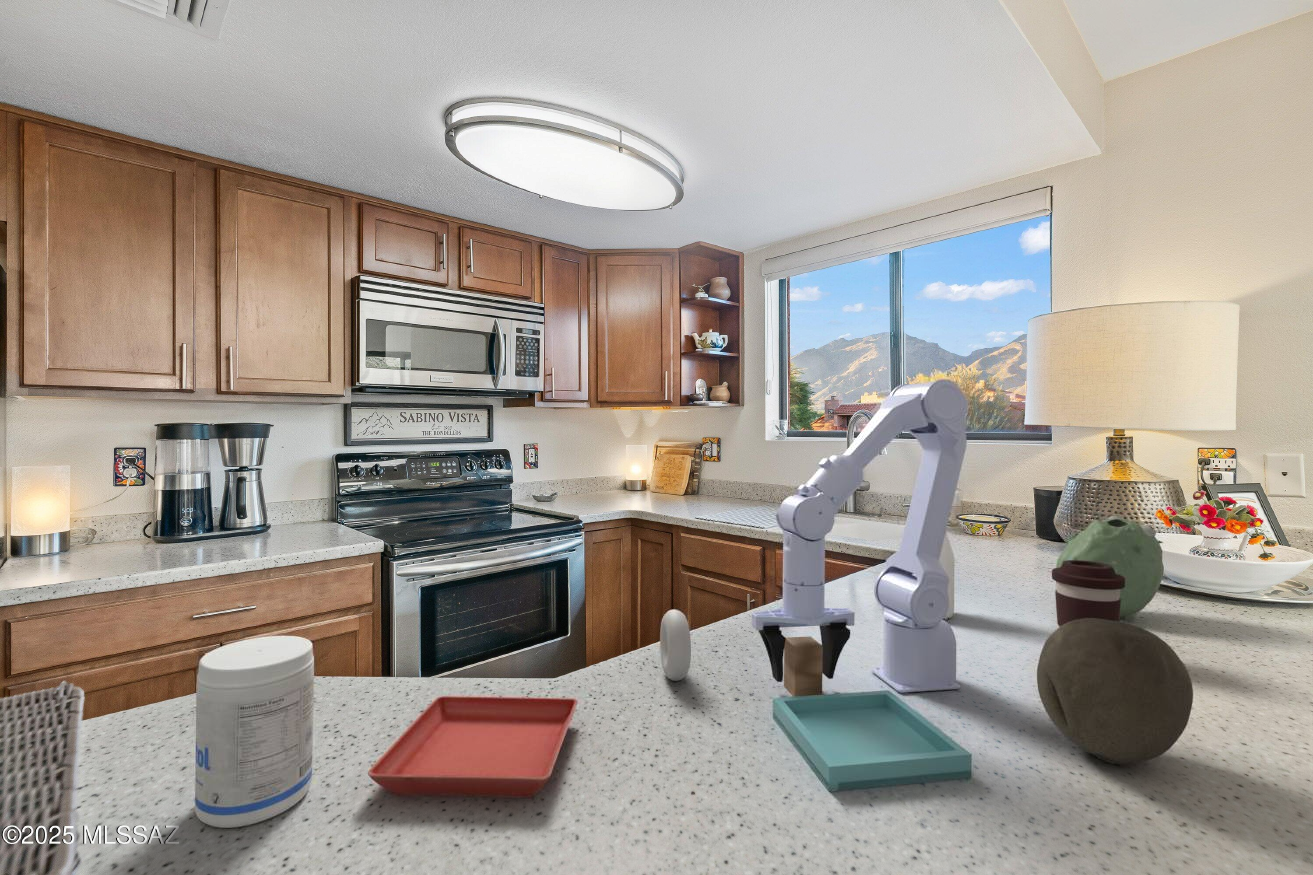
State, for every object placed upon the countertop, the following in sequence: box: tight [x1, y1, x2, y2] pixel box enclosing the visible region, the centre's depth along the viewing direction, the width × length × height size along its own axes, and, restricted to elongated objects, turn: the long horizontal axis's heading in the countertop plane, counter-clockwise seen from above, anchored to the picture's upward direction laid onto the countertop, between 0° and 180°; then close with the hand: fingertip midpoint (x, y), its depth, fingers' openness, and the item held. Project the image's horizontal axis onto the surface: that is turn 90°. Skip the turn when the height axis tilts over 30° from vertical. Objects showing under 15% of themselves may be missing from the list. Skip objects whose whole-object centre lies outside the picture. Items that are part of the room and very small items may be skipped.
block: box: [783, 635, 823, 697], centre depth 84 cm, size 4×4×7 cm
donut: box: [659, 608, 692, 682], centre depth 89 cm, size 10×4×10 cm, turn 9°
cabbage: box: [1055, 515, 1165, 618], centre depth 121 cm, size 16×19×20 cm
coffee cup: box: [1051, 560, 1125, 628], centre depth 100 cm, size 10×10×15 cm
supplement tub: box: [194, 635, 315, 829], centre depth 58 cm, size 10×10×15 cm
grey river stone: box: [1036, 618, 1194, 766], centre depth 68 cm, size 14×14×15 cm
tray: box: [772, 689, 973, 792], centre depth 70 cm, size 16×16×2 cm
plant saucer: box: [367, 695, 579, 798], centre depth 67 cm, size 18×18×3 cm
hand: (802, 677), depth 84 cm, fingers open, 7 cm apart
